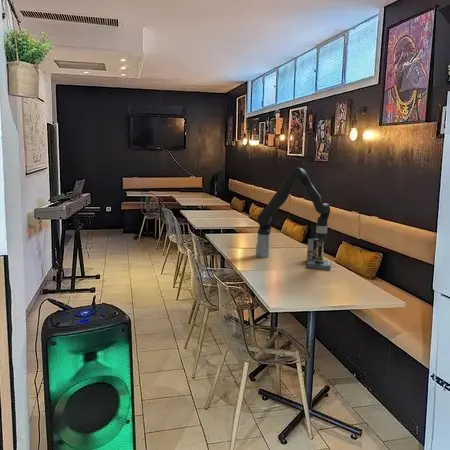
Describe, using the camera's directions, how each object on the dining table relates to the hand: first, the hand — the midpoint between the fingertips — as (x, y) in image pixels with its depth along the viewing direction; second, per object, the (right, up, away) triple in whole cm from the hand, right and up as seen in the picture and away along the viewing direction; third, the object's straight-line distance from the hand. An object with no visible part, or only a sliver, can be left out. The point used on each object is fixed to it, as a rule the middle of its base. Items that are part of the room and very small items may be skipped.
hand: (319, 255), depth 322 cm
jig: (0, -8, +1) cm, 8 cm away
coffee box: (0, -5, +21) cm, 21 cm away
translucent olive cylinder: (0, -3, +1) cm, 3 cm away
